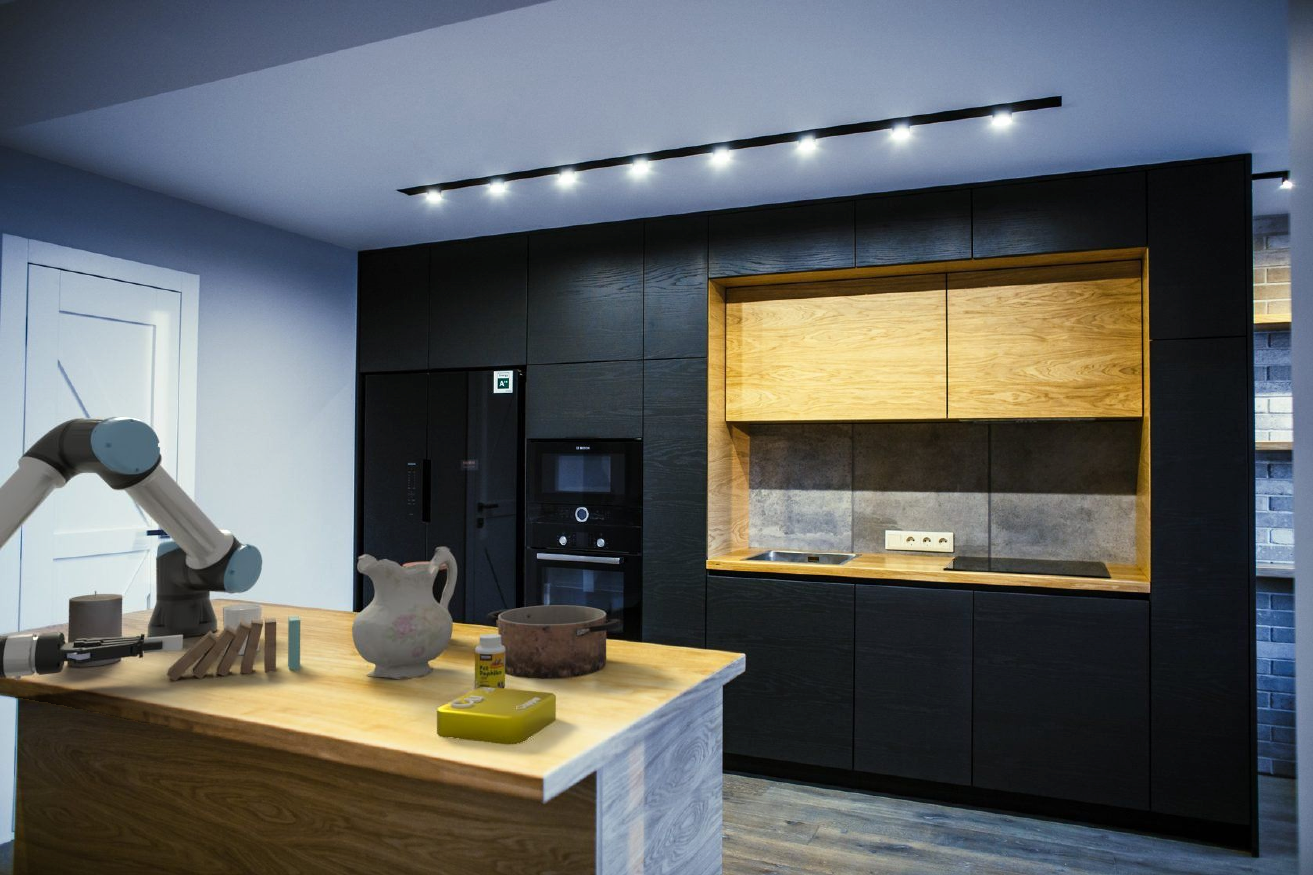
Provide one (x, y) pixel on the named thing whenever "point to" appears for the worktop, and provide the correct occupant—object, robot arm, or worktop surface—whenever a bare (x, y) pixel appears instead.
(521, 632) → the cooking pot
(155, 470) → the robot arm
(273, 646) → the domino
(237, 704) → the worktop surface
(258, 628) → the domino
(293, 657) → the domino
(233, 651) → the domino
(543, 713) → the element tile
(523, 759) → the worktop surface
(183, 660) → the domino
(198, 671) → the domino
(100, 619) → the pillar candle
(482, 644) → the supplement bottle
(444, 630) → the ceramic pitcher
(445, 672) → the worktop surface
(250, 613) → the white cup
